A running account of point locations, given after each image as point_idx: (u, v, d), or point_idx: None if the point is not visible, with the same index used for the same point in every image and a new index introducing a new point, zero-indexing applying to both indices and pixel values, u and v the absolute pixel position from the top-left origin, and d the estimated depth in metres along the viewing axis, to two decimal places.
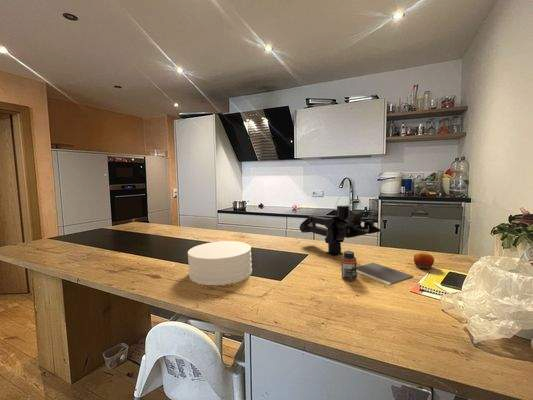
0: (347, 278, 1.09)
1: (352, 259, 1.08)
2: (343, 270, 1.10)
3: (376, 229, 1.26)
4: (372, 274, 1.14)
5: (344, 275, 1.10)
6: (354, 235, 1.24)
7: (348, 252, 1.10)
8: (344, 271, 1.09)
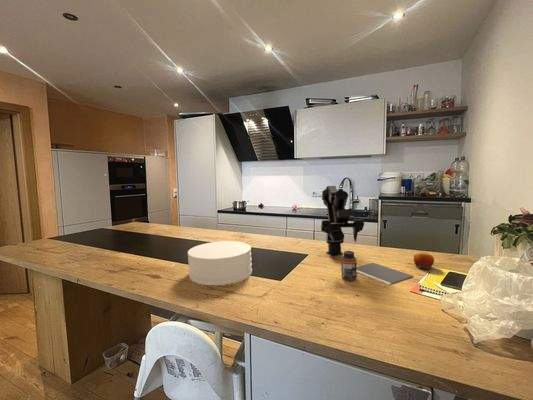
0: (347, 278, 1.09)
1: (352, 259, 1.08)
2: (343, 270, 1.10)
3: (354, 237, 1.19)
4: (372, 274, 1.14)
5: (344, 275, 1.10)
6: (328, 233, 1.23)
7: (348, 252, 1.10)
8: (344, 271, 1.09)
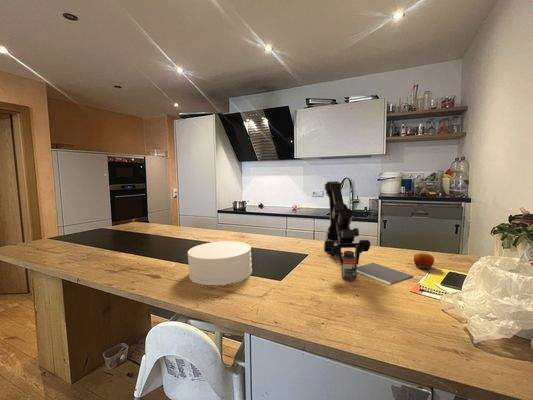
0: (347, 278, 1.09)
1: (352, 259, 1.08)
2: (343, 270, 1.10)
3: (356, 259, 1.11)
4: (372, 274, 1.14)
5: (344, 275, 1.10)
6: (335, 254, 1.15)
7: (348, 252, 1.10)
8: (344, 271, 1.09)
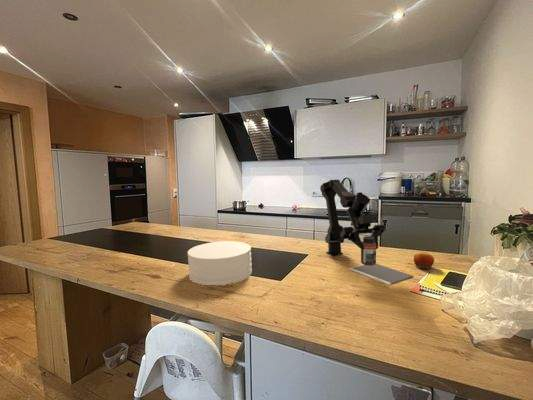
0: (369, 263, 1.10)
1: (373, 244, 1.09)
2: (364, 255, 1.10)
3: None
4: (372, 274, 1.14)
5: (366, 261, 1.10)
6: (353, 241, 1.14)
7: (368, 237, 1.11)
8: (366, 256, 1.10)
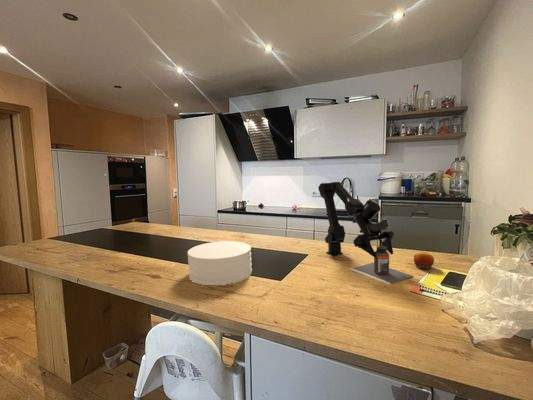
0: (383, 272, 1.12)
1: (387, 254, 1.12)
2: (379, 265, 1.13)
3: (389, 250, 1.16)
4: (372, 274, 1.14)
5: (381, 270, 1.13)
6: (363, 248, 1.15)
7: (382, 247, 1.14)
8: (381, 266, 1.12)
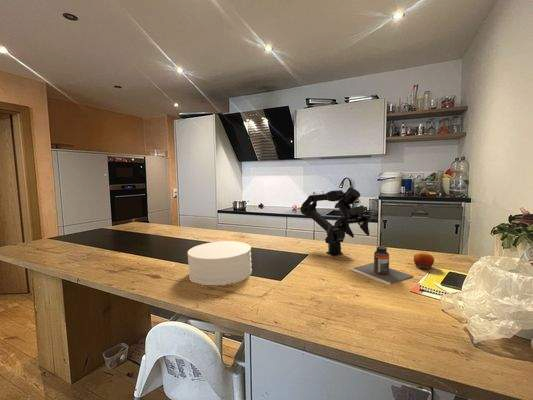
0: (383, 272, 1.12)
1: (387, 254, 1.12)
2: (379, 265, 1.13)
3: (366, 231, 1.30)
4: (372, 274, 1.14)
5: (381, 270, 1.13)
6: (343, 230, 1.29)
7: (382, 247, 1.14)
8: (381, 266, 1.12)
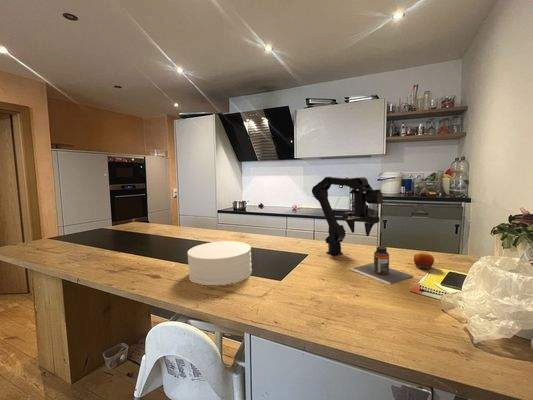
0: (383, 272, 1.12)
1: (387, 254, 1.12)
2: (379, 265, 1.13)
3: (353, 229, 1.37)
4: (372, 274, 1.14)
5: (381, 270, 1.13)
6: (368, 226, 1.26)
7: (381, 247, 1.14)
8: (380, 266, 1.12)
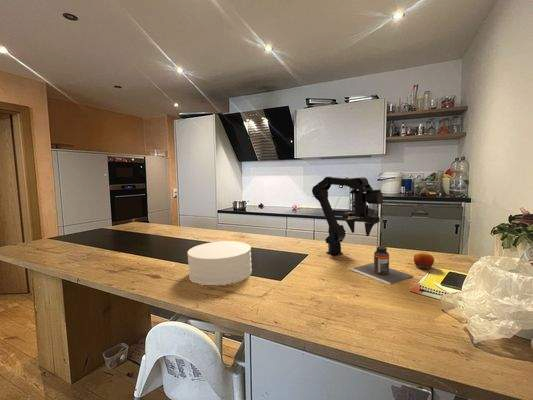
0: (383, 272, 1.12)
1: (387, 254, 1.12)
2: (379, 265, 1.13)
3: (353, 229, 1.37)
4: (372, 274, 1.14)
5: (381, 270, 1.13)
6: (368, 226, 1.26)
7: (382, 247, 1.14)
8: (381, 266, 1.12)
